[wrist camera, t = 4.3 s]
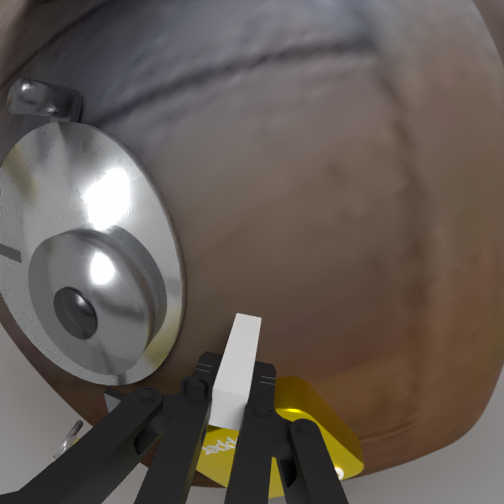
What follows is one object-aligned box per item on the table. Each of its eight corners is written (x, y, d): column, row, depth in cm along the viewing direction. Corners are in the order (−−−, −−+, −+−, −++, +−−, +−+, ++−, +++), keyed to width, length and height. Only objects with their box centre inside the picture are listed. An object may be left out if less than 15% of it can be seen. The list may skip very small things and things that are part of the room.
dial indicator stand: (106, 379, 24) (48, 457, 13) (139, 392, 24) (87, 480, 13) (113, 409, 26) (67, 481, 14) (143, 421, 25) (103, 500, 14)
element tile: (296, 365, 21) (297, 407, 17) (364, 441, 24) (371, 474, 19) (172, 416, 25) (157, 449, 20) (255, 476, 28) (251, 505, 23)
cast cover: (58, 212, 17) (18, 225, 13) (172, 235, 17) (139, 257, 13) (67, 323, 20) (38, 348, 16) (166, 360, 20) (144, 397, 16)
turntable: (2, 105, 16) (-41, 104, 10) (217, 86, 15) (186, 50, 9) (13, 331, 24) (-17, 354, 18) (180, 407, 23) (160, 456, 17)
